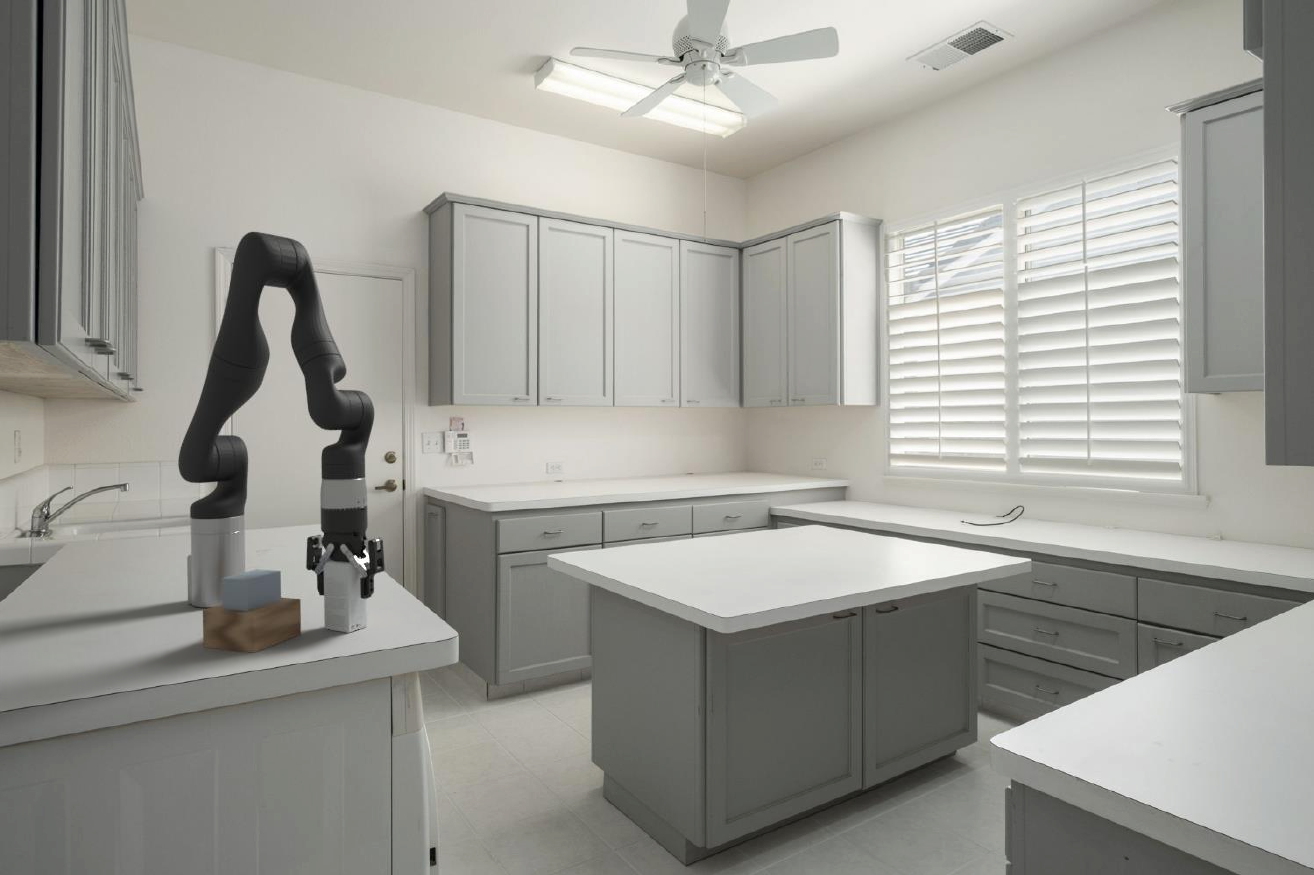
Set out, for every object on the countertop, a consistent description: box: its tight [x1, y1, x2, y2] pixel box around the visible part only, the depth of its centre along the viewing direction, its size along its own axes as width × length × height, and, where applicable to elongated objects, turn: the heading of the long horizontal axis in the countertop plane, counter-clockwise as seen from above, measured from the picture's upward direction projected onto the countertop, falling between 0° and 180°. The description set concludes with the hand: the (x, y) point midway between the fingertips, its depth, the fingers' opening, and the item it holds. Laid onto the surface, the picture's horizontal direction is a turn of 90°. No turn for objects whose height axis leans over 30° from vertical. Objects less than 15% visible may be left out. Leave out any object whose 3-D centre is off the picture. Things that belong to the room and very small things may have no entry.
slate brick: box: [222, 568, 282, 611], centre depth 120 cm, size 5×7×5 cm
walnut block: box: [202, 597, 302, 653], centre depth 120 cm, size 10×10×6 cm
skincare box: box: [323, 560, 368, 634], centre depth 127 cm, size 6×4×12 cm
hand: (345, 596), depth 127 cm, fingers open, 8 cm apart
